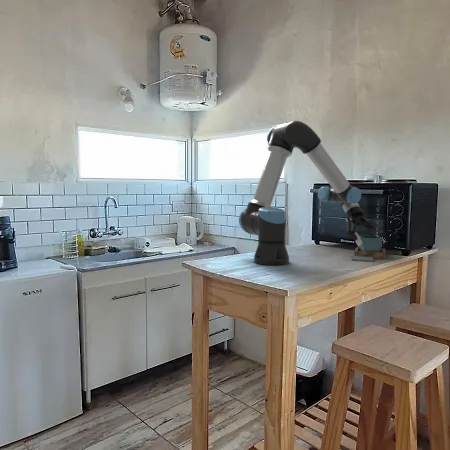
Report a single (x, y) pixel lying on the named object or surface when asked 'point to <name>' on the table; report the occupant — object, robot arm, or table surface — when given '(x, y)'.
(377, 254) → the wooden tray
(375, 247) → the flower pot
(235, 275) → the table surface
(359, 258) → the mat
